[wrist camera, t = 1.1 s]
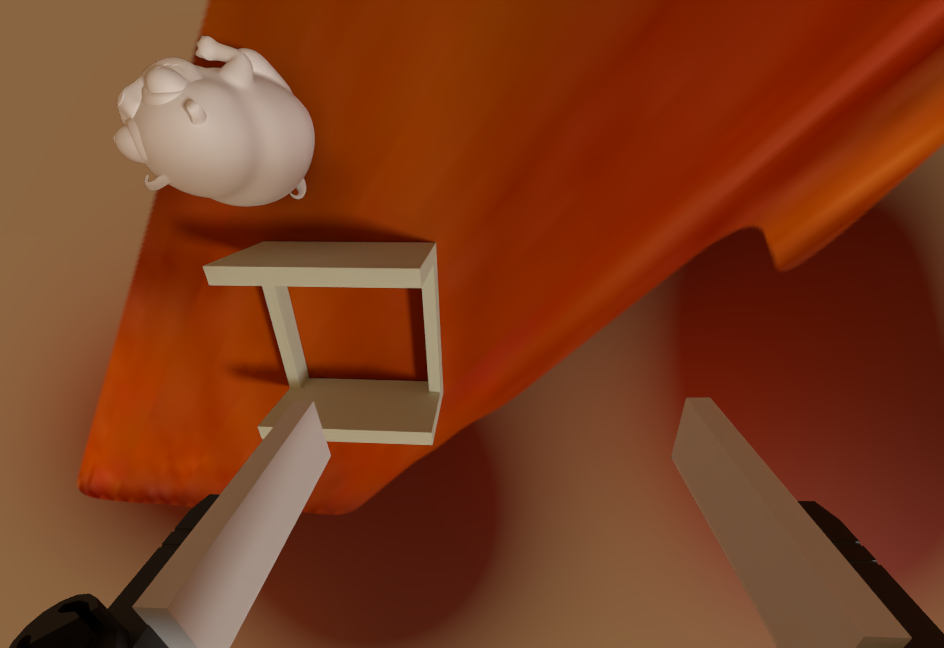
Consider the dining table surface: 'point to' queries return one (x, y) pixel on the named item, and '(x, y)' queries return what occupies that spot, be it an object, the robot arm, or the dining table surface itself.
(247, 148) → the figurine
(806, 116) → the dining table surface
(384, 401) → the beige open frame
